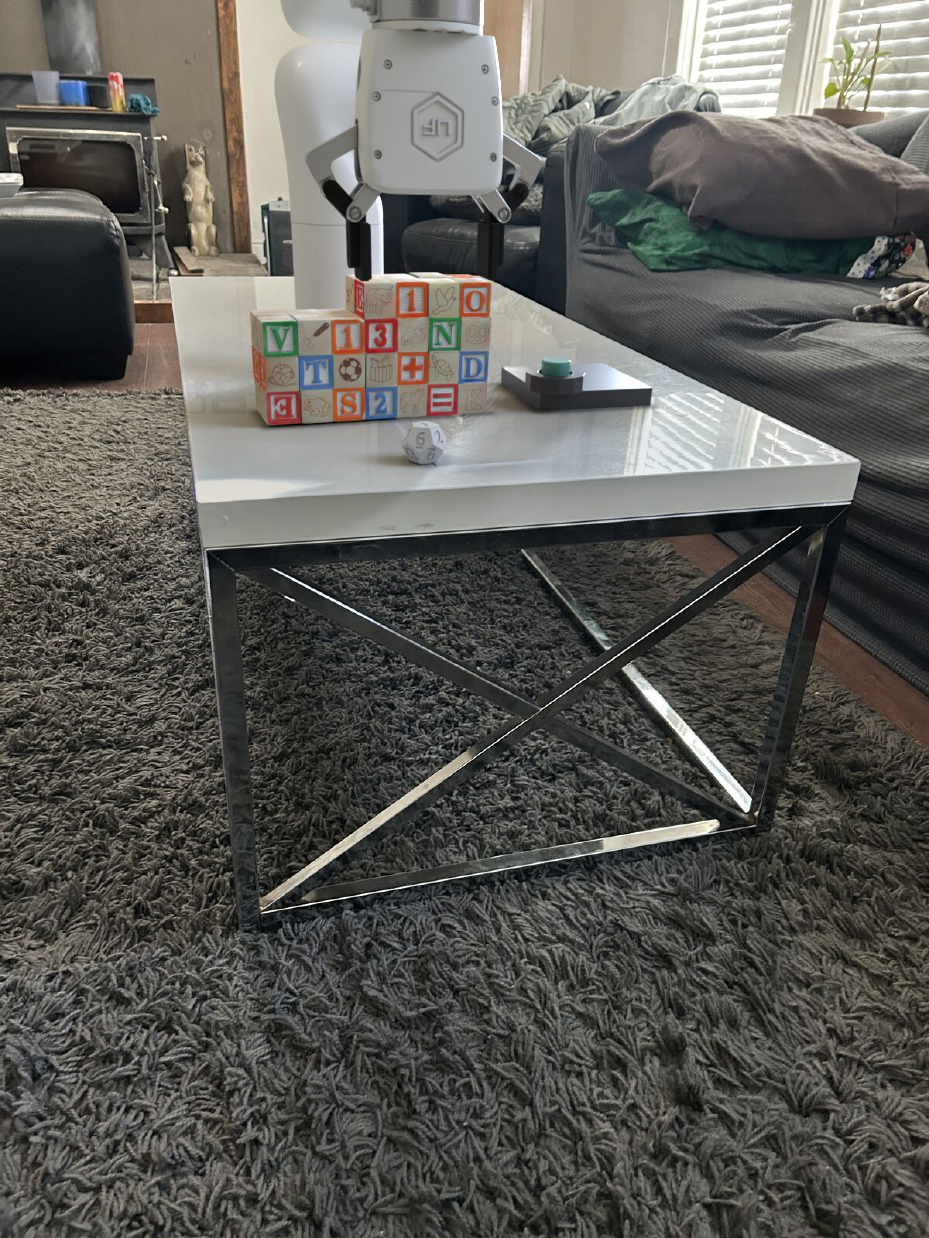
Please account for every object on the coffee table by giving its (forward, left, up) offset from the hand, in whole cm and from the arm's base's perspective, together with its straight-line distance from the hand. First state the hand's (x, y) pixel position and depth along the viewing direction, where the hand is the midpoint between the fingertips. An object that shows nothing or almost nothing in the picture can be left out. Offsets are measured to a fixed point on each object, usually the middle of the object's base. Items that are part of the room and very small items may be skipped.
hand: (425, 278), depth 72 cm
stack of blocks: (-1, +16, -14) cm, 22 cm away
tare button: (+17, +15, -11) cm, 25 cm away
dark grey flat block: (+21, +19, -14) cm, 32 cm away
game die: (0, 0, -14) cm, 14 cm away
